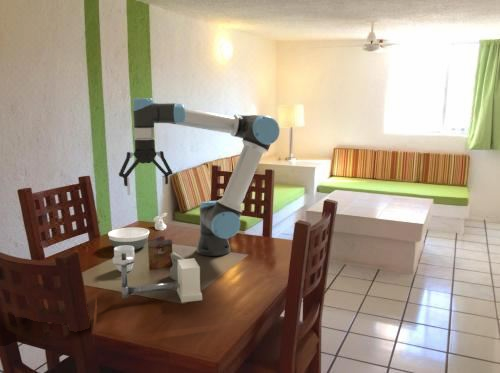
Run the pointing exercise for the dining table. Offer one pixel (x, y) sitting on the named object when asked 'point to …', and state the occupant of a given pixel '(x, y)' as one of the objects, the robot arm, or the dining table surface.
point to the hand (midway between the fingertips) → (146, 193)
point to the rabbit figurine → (160, 222)
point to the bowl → (129, 237)
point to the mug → (124, 249)
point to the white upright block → (189, 280)
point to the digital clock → (174, 266)
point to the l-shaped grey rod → (126, 291)
